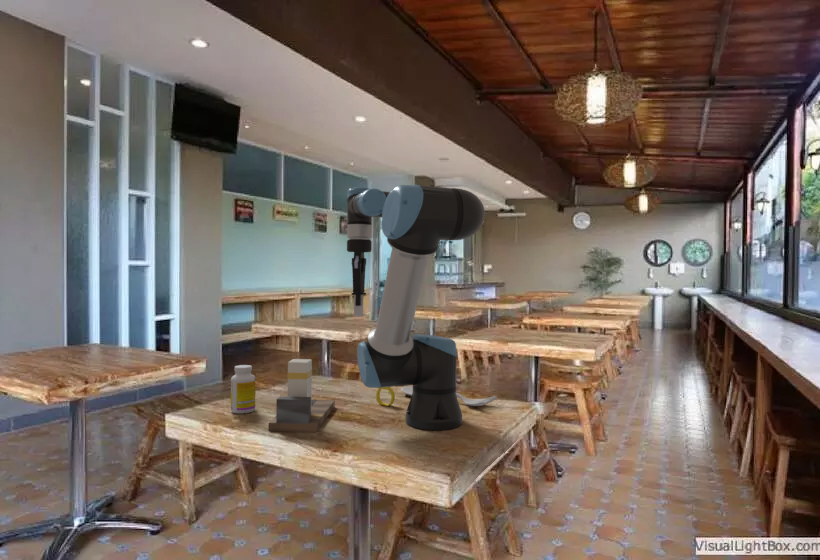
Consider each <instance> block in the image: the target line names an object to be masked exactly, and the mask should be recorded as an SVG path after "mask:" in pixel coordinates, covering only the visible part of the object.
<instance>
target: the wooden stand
mask: <svg viewBox="0 0 820 560" xmlns="http://www.w3.org/2000/svg"><path fill="white" fill-rule="evenodd" d="M275 404H276V406H275V407H276V411H275V412H276V415H275V417H273V418H272V419H271V420H270V421H269V422H268V425H267V426H268V427H267V428H268V432H293V433H294V432H297V433H298V432H299V433H302V432H304V433H317V431H318V430H319V428H321V426H322V425H323V423H324V422H325V421H326V419H327V418H328V417H329V415H330V414H331V413H332V412H333V410H334V408H335V405H336V402H335V400H334V399H329V400H328V399H312V396H311V397H288V395H287V396H281V395H279V396H278V398H276V403H275Z"/></svg>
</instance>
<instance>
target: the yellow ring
mask: <svg viewBox="0 0 820 560" xmlns="http://www.w3.org/2000/svg"><path fill="white" fill-rule="evenodd" d="M381 390H387V391H388V392H389V394H390V395H391V400H390V403H384V402H383V401H382V399H381V396H380V393H381ZM395 395H396V394H395V392H394V390H393V389H392V388H391V387H381V388H377V391H376V395H375V398H376V401H377V403H378V404H379V405H380V406H386V407H390V406H392V404H394V402H395V399H396V397H395Z"/></svg>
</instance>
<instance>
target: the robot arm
mask: <svg viewBox="0 0 820 560" xmlns="http://www.w3.org/2000/svg"><path fill="white" fill-rule="evenodd" d="M346 197H347V198H346V203H347V205H346V208H347V210H346V212H347V213H346V217H347V218H346V225H347V226H346V228H345V229H344V231H345V232H346V237H347V241H346V251H347V253H353V257H351V270H352V272H351V273H352V292H351V295H352V296H353V317H362V318H363V317H364V296H366V295H367V293H366V290H365V283H366V281H365V280H366V266H367V258H365V253H371V252H372V243H373V242H372V240H371V239H372V237H373V223H372V221H373V220H372V219H373V218H382V220H381V231H382V233H383V235H384V237H386V238H387V239H386V241H387V243H388V245H389V247H390V248H391V252H390V256H389V257H390V258H389V262H388V266H387V267H388V268H387V271H386V276H385V281H384V286H383V293H382V296H381V303H380V306H379V312H378V317H377V322H376V327H375V328H374V329H372V330H371V331H370V332H369V333H368V336H367V341H362V342H359V343H358V345H357V349H356V357H357V366H358V371H359V376H360V379H361V381H362V383H363V385H364V386H365V387H366V388H372V389H373V388H376V389H379V388H381V387H390V388H391V387H401V386H402V387H405V386H413V393H412V396H410V400H409V402H408V405H407V409H406V412H405V423H406V424H407V425H408V426H409V427H412V428H416V429H420V430H429V431H444V430H445V431H446V430H451V429H456V428H458V427H461V426H462V424H463V412H462V409H461V405H460V402H459V400H458V399H459V398H458V397H457V396H456V393H457V358H458V351H457V343H456V341H455V340H454V339H453V338H449V337H444V336H438V335H431V334H422V333H414V334H413V336H412V337H411V331H412V327H413V323H414V319H415V315H416V311H417V307H418V303H419V299H420V295H421V294H420V293H421V290H422V286H423V282H424V279H425V273H426V270H427V266H428V262H429V257H430V256H433V255H434V254H436V253H437V252H438V249H439V245H440V242H441V241H460V240H461V241H462V240H466V239H468V238H470V237H473V236H474V235H475V234H477V233H478V232H479V230H480V229H481V228H482V226H483V224H484V222H485V216H486V214H485V213H486V212H485V207H484V204H483V202H482V200H481V199H480V198H479V197H478V196H477V195H476V194H474V193H473V192H471V191H469V190H466V189H463V188H458V187H457V188H456V187H455V188H454V187H452V188H451V187H442V186H441V187H440V186H430V185H429V186H428V185H419V184H415V183H413V184H401V185H397V186H394V188H393V189H392V190H391V191H386V190H385V191H383V190H381V189H378V188H368V187H359V186H358V187H356V186H355V187H350V188H348V190H347V196H346Z"/></svg>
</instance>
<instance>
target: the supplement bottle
mask: <svg viewBox="0 0 820 560" xmlns="http://www.w3.org/2000/svg"><path fill="white" fill-rule="evenodd" d="M252 371H253V367H252V365H250V364H249V365H248V364H239V365H235V366H234V375H232V377H230V411H231V412H232V413H233V414H237V415H239V414H240V415H241V414H243V415H244V413H245V414H250V413H253V412H254V411H255V410H256V376H255V375H254V374H252Z"/></svg>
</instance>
